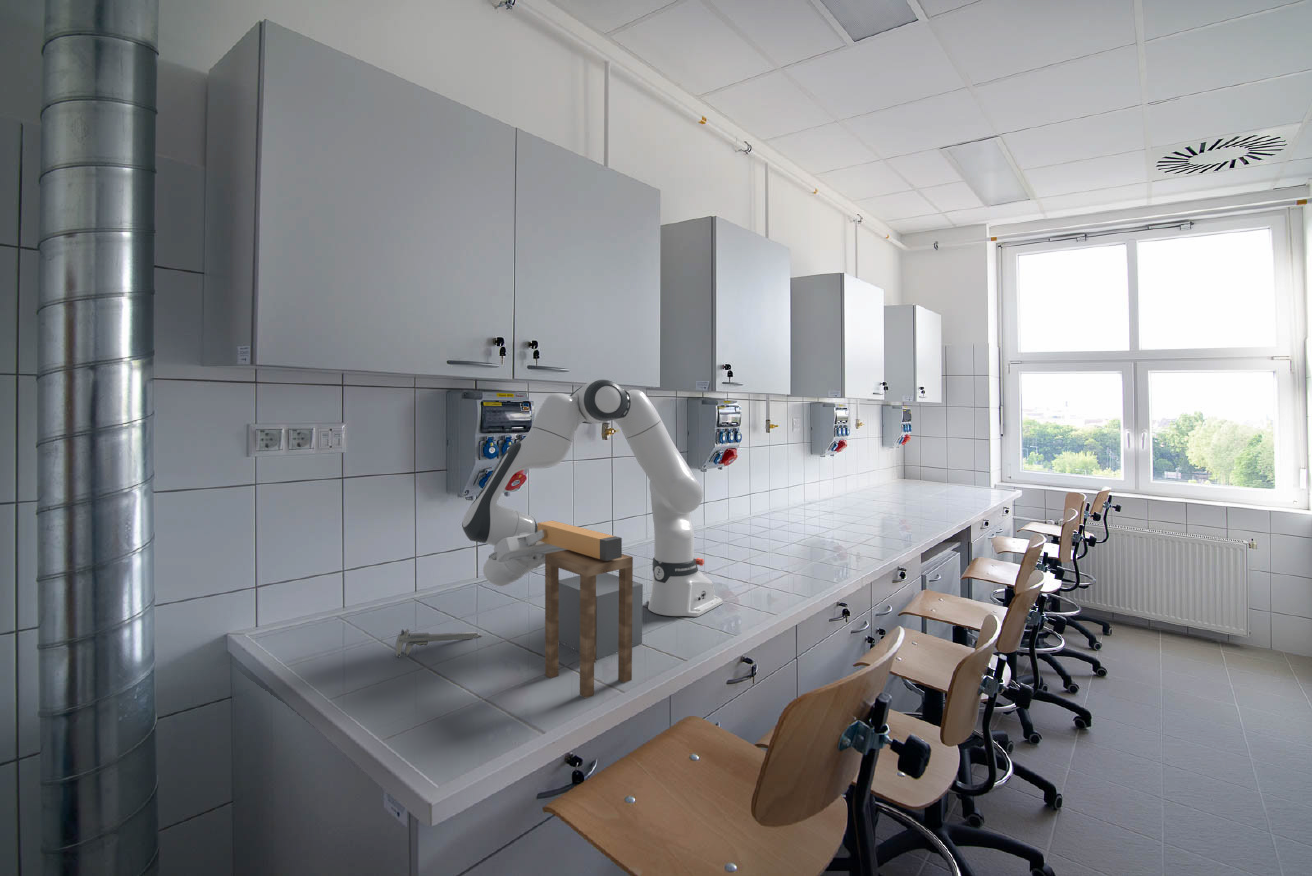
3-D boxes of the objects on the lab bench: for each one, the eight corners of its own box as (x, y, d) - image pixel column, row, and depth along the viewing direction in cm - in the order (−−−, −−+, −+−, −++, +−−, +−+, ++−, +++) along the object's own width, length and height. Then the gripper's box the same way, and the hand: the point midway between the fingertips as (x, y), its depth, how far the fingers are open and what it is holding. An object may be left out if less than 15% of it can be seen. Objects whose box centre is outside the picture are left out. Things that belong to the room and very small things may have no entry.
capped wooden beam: (552, 537, 144) (552, 520, 144) (621, 557, 127) (621, 537, 127) (537, 540, 141) (537, 522, 141) (606, 561, 124) (606, 540, 124)
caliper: (397, 659, 142) (397, 631, 141) (395, 657, 143) (395, 630, 142) (482, 637, 155) (482, 612, 155) (480, 636, 156) (480, 611, 156)
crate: (599, 626, 163) (600, 570, 162) (642, 643, 152) (642, 584, 151) (554, 640, 153) (555, 581, 153) (596, 659, 142) (596, 596, 141)
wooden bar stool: (590, 659, 142) (590, 545, 140) (631, 679, 132) (632, 556, 130) (545, 675, 134) (545, 553, 132) (586, 698, 124) (586, 567, 122)
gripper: (481, 546, 143) (509, 524, 134) (556, 533, 157) (586, 512, 148) (488, 573, 141) (517, 552, 132) (564, 557, 155) (594, 537, 146)
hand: (554, 531), depth 140 cm, fingers closed on capped wooden beam, 4 cm apart
